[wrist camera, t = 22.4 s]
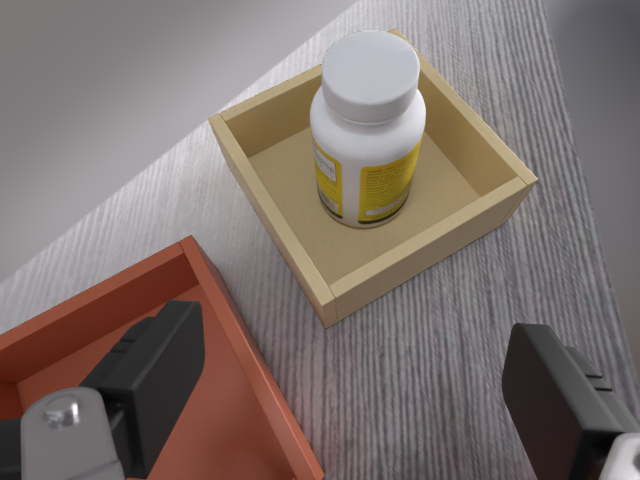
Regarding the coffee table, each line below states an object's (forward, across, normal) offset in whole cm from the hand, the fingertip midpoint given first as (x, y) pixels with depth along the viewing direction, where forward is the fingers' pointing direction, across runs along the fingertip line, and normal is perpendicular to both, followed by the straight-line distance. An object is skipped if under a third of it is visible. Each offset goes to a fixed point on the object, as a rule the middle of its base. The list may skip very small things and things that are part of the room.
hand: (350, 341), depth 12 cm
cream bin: (+17, 0, 0) cm, 17 cm away
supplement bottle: (+17, 0, 0) cm, 17 cm away
